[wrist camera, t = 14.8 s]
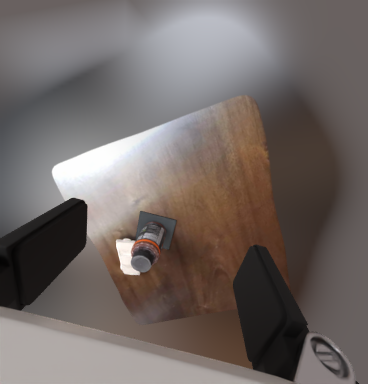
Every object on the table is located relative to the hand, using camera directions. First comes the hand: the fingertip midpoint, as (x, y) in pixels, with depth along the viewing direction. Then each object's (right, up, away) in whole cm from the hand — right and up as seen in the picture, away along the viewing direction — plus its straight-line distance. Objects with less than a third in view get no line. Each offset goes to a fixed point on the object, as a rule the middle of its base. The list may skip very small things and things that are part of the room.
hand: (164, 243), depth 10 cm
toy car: (-13, -14, +37) cm, 42 cm away
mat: (-6, -7, +34) cm, 35 cm away
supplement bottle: (-6, -7, +34) cm, 35 cm away
